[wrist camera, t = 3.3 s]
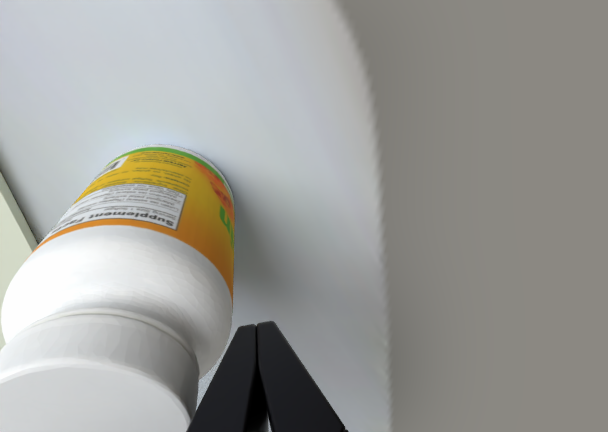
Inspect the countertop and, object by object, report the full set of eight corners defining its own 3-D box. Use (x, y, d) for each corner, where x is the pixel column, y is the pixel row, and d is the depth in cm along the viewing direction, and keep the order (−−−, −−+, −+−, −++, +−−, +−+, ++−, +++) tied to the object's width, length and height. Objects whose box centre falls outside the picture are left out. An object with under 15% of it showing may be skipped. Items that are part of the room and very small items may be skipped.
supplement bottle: (232, 260, 17) (225, 499, 9) (104, 256, 16) (-41, 525, 8) (238, 146, 15) (237, 330, 6) (88, 134, 14) (-150, 334, 5)
